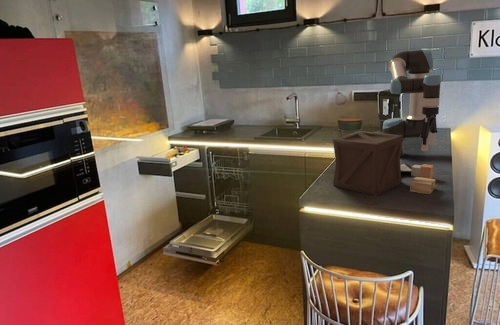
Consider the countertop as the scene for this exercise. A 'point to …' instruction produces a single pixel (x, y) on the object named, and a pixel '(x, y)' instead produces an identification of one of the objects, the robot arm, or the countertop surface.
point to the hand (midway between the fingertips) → (428, 147)
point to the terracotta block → (426, 171)
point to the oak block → (422, 185)
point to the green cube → (416, 170)
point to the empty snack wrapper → (406, 168)
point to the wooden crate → (368, 162)
